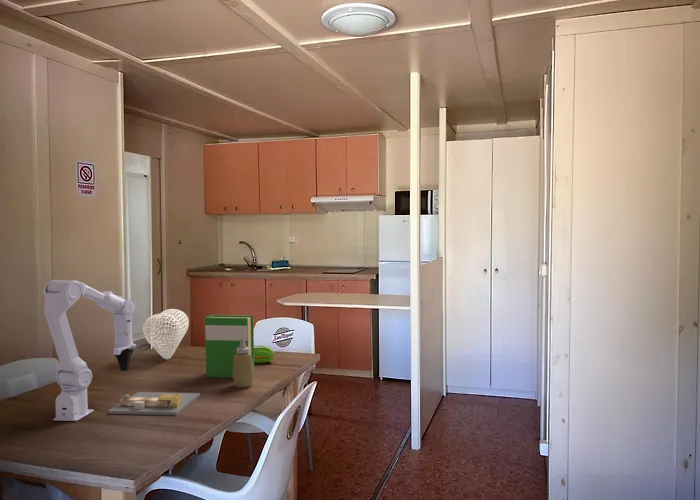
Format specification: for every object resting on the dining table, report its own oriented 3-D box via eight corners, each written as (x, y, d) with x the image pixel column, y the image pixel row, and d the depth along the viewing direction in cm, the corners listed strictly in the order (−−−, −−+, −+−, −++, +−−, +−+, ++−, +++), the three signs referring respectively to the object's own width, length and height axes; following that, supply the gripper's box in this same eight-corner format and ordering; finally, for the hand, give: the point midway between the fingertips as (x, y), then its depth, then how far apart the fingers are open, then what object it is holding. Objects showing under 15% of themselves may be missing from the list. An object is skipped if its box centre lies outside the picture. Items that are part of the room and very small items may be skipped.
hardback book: (254, 373, 221) (253, 315, 220) (248, 378, 214) (247, 318, 213) (213, 371, 224) (212, 314, 223) (206, 376, 217) (205, 317, 216)
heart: (173, 366, 233) (172, 316, 232) (138, 367, 233) (136, 316, 233) (193, 352, 261) (192, 306, 260) (162, 352, 261) (160, 307, 261)
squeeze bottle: (233, 389, 198) (232, 341, 197) (232, 383, 206) (231, 337, 205) (255, 387, 200) (254, 340, 199) (253, 382, 208) (252, 336, 207)
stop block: (142, 409, 175) (142, 403, 175) (133, 408, 175) (133, 402, 175) (145, 407, 177) (145, 401, 177) (136, 406, 177) (136, 400, 177)
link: (118, 405, 178) (118, 396, 178) (124, 402, 181) (124, 393, 181) (166, 407, 176) (166, 398, 176) (171, 403, 179) (171, 394, 179)
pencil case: (270, 347, 234) (228, 345, 238) (270, 365, 234) (228, 363, 238) (277, 345, 241) (236, 343, 246) (276, 362, 241) (236, 360, 245)
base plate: (176, 415, 171) (176, 412, 171) (108, 413, 174) (108, 410, 174) (200, 395, 191) (200, 393, 191) (138, 394, 193) (138, 392, 193)
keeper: (177, 407, 175) (176, 397, 175) (158, 407, 176) (157, 397, 176) (182, 403, 179) (181, 394, 179) (163, 403, 180) (163, 393, 180)
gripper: (128, 336, 184) (129, 375, 185) (141, 328, 199) (142, 364, 199) (106, 336, 184) (108, 376, 184) (121, 329, 198) (122, 365, 199)
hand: (124, 370), depth 192 cm, fingers closed
